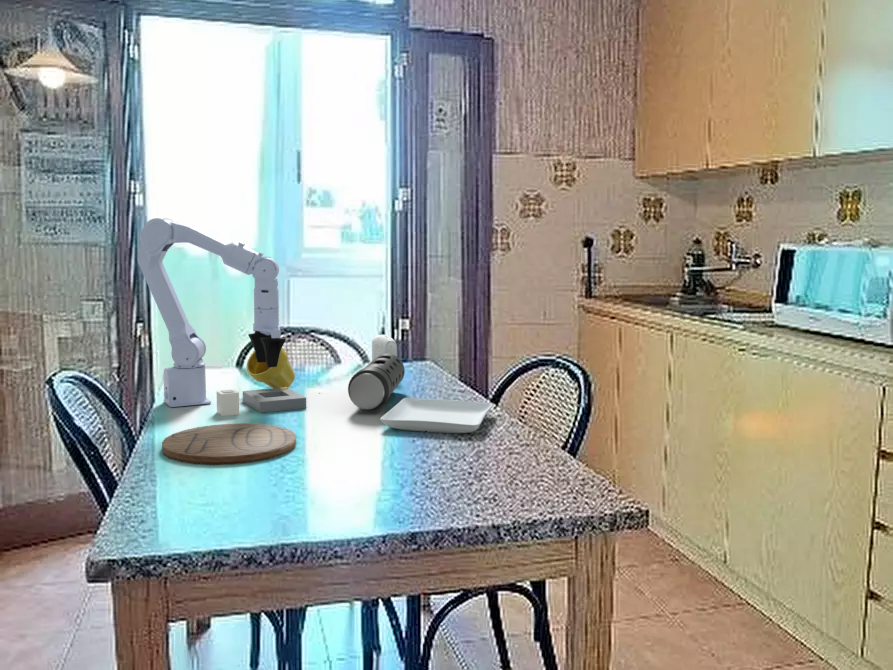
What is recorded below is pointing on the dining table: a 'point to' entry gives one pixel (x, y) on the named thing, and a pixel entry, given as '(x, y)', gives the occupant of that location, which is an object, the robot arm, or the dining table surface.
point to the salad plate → (436, 415)
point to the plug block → (227, 402)
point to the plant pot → (272, 371)
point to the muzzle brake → (376, 382)
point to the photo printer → (383, 346)
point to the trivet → (228, 444)
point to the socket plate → (274, 399)
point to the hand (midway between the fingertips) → (266, 364)
